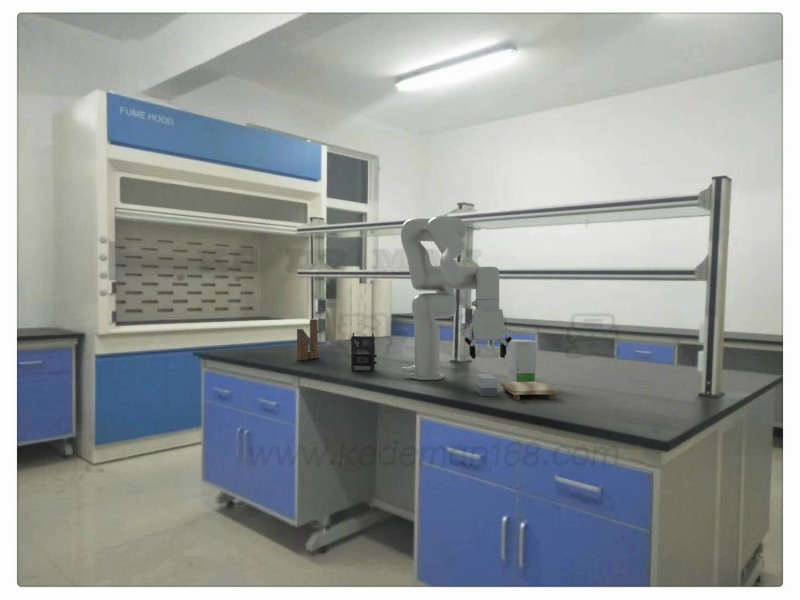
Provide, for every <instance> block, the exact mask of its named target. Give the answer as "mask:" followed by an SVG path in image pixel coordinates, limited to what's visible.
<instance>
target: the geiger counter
mask: <svg viewBox="0 0 800 600" xmlns="http://www.w3.org/2000/svg"><path fill="white" fill-rule="evenodd" d="M374 335H375V334H374V332H372V335H371V336H370V335H369V336H368V335H367V336H366V335H362V336H361V335H355V332H352V336H351V338H350V344H351V345H350V351H351V354H350V355H351V357H350V360H351V361H350V363H351V366H350V371H351V370H352V372H374V371H375V370H376V367H375V366H376V364H377V361H376V358H377V354H376V348H375V347H376V345H375V344H376V337H375V336H374Z"/></svg>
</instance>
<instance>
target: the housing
mask: <svg viewBox="0 0 800 600" xmlns="http://www.w3.org/2000/svg"><path fill="white" fill-rule="evenodd" d="M475 392H476V394H478V395H479V394H480V395H481V396H497V397H498V378H497V377H496V376H494V375H493V374H492V373H475ZM480 395H479V396H480ZM481 396H480V397H481Z"/></svg>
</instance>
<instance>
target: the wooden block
mask: <svg viewBox="0 0 800 600" xmlns="http://www.w3.org/2000/svg"><path fill="white" fill-rule="evenodd" d="M318 321H319V319H317V318H310V319H309V335H308V334H307V333H306V332H305V330H304V329H303V328H297V329H296V344H297V345H296V357H297V358H296V360H297V361H300V360H304V361H308V360H315V359H319V358H320V350H319V347H318V346H319V344H318V343H319V342H318V340H319V337H318V336H319V335H318V334H319V332H318V330H319V329H318V328H319V327H318V326H319V324H318V323H319V322H318ZM314 358H315V359H314Z"/></svg>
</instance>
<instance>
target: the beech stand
mask: <svg viewBox="0 0 800 600" xmlns="http://www.w3.org/2000/svg"><path fill="white" fill-rule="evenodd" d="M500 386H501V387H502V391H503V392H504V393H510V394H512V395H513V397H512V399H513V400H514V401H520V399H521V395H522V396H523V395H546V396H547V397H546V399H548V400H555V395H558V389H556V388H554V387H552V386H551V385H548V384H547V383H545V382H543V381H535V382H508V381H501V382H500Z"/></svg>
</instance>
